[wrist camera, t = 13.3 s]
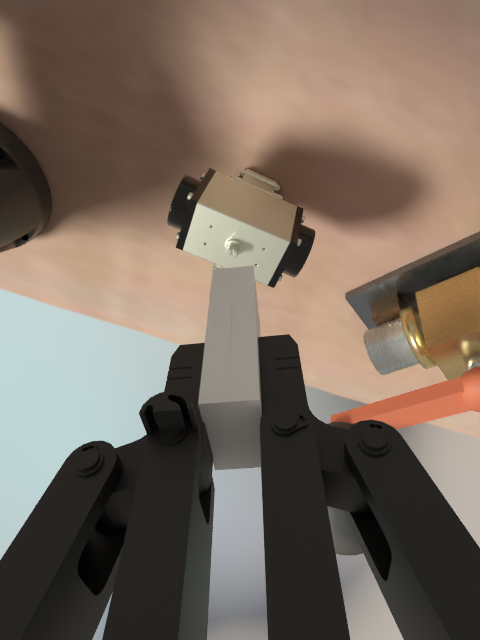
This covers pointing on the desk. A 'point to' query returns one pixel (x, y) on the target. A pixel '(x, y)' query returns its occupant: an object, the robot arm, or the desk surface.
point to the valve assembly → (425, 312)
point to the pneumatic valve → (241, 224)
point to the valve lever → (401, 411)
